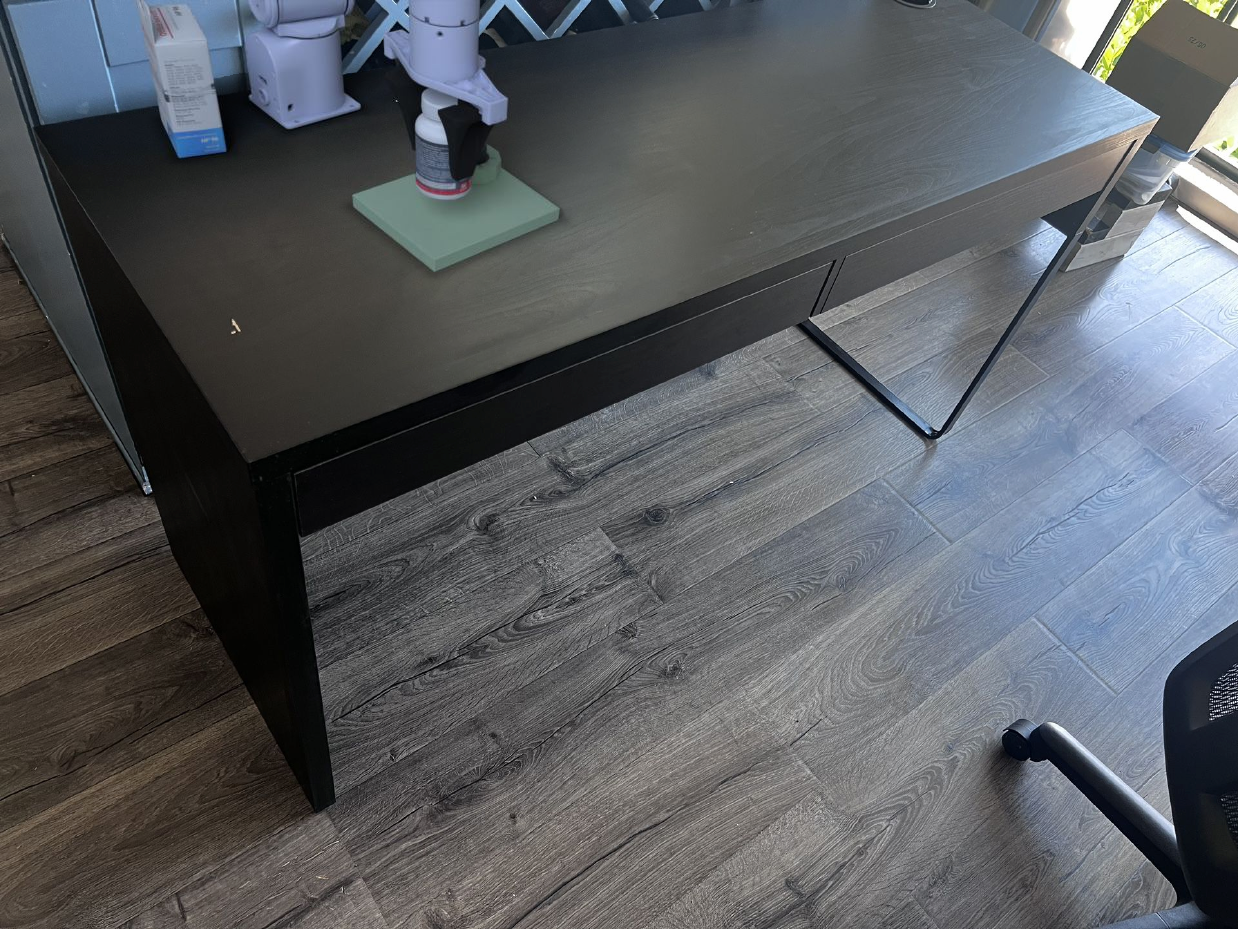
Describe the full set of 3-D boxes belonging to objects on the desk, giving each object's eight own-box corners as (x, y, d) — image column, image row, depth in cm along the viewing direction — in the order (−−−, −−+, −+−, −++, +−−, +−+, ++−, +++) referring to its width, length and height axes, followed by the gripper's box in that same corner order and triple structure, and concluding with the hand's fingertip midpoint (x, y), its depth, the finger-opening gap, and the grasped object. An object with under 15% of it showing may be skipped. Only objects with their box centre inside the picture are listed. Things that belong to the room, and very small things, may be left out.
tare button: (469, 169, 97) (470, 155, 95) (451, 156, 98) (451, 142, 97) (492, 161, 98) (492, 147, 97) (473, 148, 99) (474, 134, 98)
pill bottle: (468, 205, 87) (470, 115, 81) (411, 197, 87) (409, 106, 81) (474, 175, 91) (478, 87, 85) (420, 168, 91) (419, 79, 84)
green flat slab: (434, 272, 88) (434, 245, 86) (350, 204, 94) (348, 177, 92) (558, 220, 97) (561, 194, 95) (475, 161, 103) (476, 135, 101)
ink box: (229, 153, 97) (204, 6, 86) (178, 159, 95) (145, 10, 84) (209, 113, 102) (182, -31, 91) (159, 118, 99) (126, -28, 89)
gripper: (539, 37, 76) (527, 186, 86) (428, -29, 82) (429, 117, 92) (471, 56, 73) (467, 209, 82) (360, -15, 78) (368, 136, 88)
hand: (443, 162), depth 87 cm, fingers closed on pill bottle, 5 cm apart
